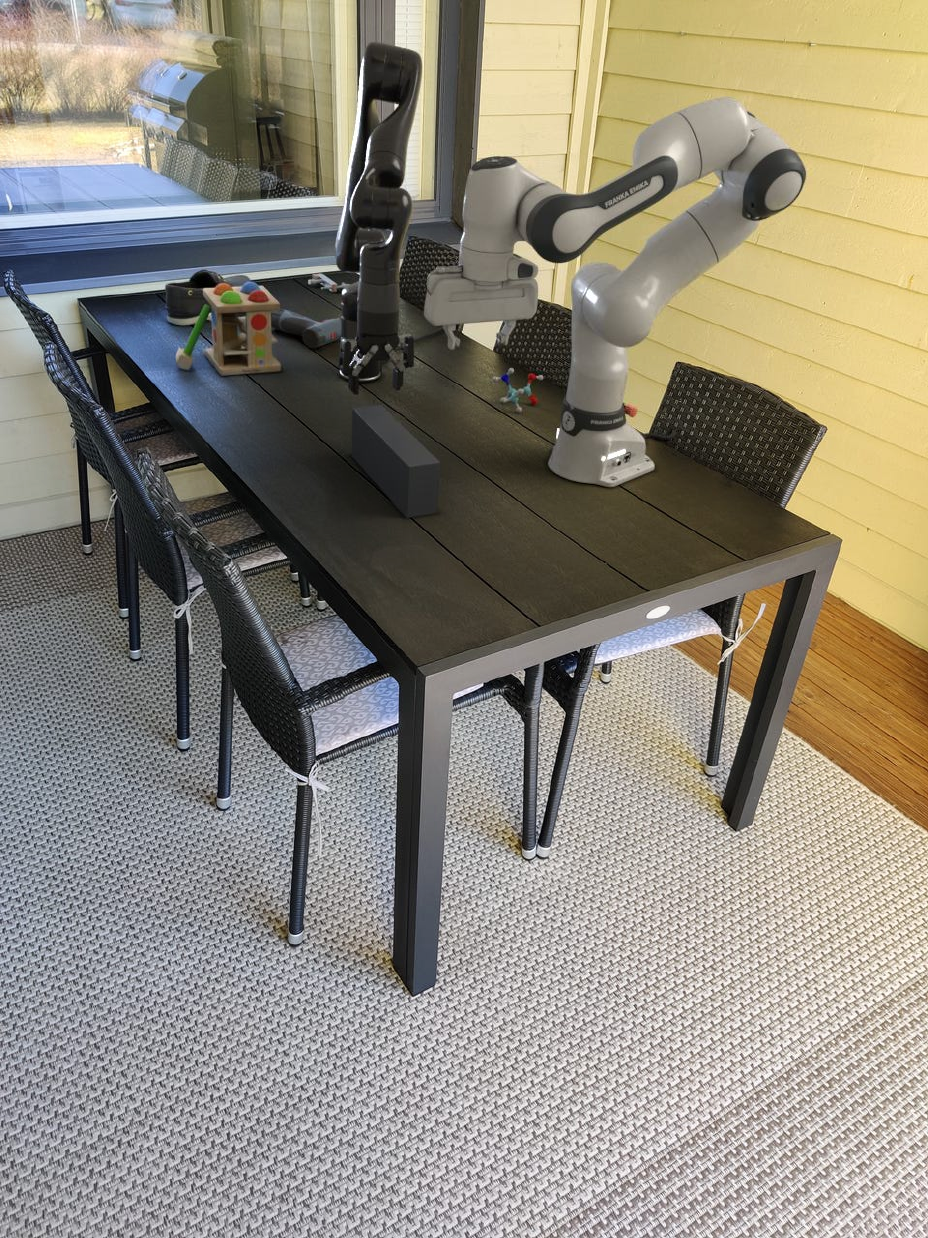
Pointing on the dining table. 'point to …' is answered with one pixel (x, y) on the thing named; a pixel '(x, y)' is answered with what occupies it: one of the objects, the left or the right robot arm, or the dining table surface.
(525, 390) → the molecular model
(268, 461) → the dining table surface
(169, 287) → the boat shoe
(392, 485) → the box
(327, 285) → the clamp
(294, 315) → the power drill
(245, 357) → the pounding bench toy
